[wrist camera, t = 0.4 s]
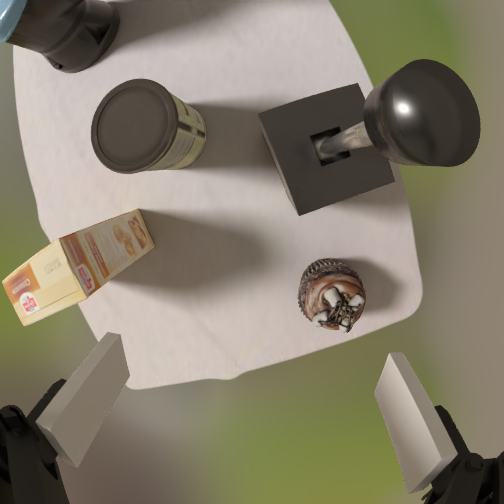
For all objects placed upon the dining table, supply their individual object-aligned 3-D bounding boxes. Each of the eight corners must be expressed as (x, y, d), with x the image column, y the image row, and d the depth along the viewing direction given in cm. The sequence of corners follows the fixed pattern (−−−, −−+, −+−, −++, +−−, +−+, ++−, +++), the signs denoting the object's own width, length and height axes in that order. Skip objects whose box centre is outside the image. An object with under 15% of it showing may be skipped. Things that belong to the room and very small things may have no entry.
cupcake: (360, 255, 42) (383, 280, 32) (347, 312, 45) (364, 346, 35) (299, 249, 42) (307, 273, 33) (290, 307, 45) (295, 343, 35)
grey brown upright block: (262, 133, 38) (258, 113, 23) (327, 111, 36) (357, 83, 22) (288, 199, 40) (299, 216, 26) (352, 176, 39) (394, 181, 24)
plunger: (279, 126, 26) (299, 31, 6) (343, 106, 25) (463, 16, 5) (305, 192, 28) (384, 250, 8) (368, 170, 26) (523, 189, 7)
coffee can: (130, 149, 39) (76, 145, 26) (166, 92, 37) (123, 64, 23) (181, 184, 41) (140, 192, 27) (221, 125, 38) (197, 104, 24)
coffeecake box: (138, 206, 42) (58, 236, 23) (157, 247, 44) (89, 300, 25) (76, 242, 44) (-1, 281, 26) (93, 277, 46) (23, 329, 27)
